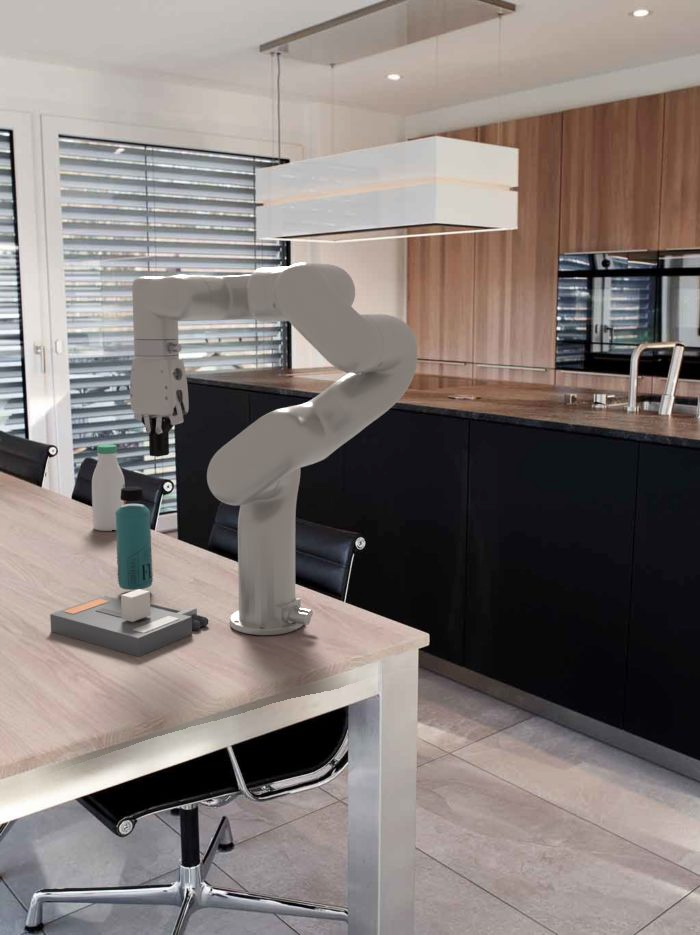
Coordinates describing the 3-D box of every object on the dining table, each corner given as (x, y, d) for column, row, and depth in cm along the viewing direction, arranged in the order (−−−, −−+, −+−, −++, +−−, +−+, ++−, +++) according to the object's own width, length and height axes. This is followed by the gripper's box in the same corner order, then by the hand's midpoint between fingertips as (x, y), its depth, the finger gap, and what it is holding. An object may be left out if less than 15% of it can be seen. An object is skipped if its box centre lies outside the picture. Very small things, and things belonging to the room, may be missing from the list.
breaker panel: (192, 634, 155) (191, 616, 155) (138, 656, 145) (138, 637, 145) (106, 612, 166) (105, 595, 165) (51, 631, 156) (50, 613, 156)
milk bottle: (122, 532, 223) (119, 448, 220) (89, 531, 223) (85, 447, 220) (130, 524, 231) (127, 443, 227) (98, 524, 231) (95, 442, 227)
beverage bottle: (145, 599, 173) (141, 491, 170) (111, 596, 175) (107, 490, 171) (159, 588, 180) (156, 485, 176) (126, 586, 181) (122, 483, 178)
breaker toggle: (150, 615, 154) (149, 591, 154) (132, 621, 151) (131, 597, 150) (139, 612, 155) (139, 588, 155) (121, 619, 152) (120, 595, 151)
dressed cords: (211, 625, 160) (211, 611, 159) (195, 632, 156) (195, 618, 156) (128, 604, 170) (127, 591, 170) (111, 610, 167) (110, 597, 166)
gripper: (204, 350, 162) (206, 456, 165) (140, 347, 170) (143, 448, 173) (173, 352, 156) (176, 462, 159) (109, 349, 164) (113, 454, 167)
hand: (159, 455), depth 166 cm, fingers closed
